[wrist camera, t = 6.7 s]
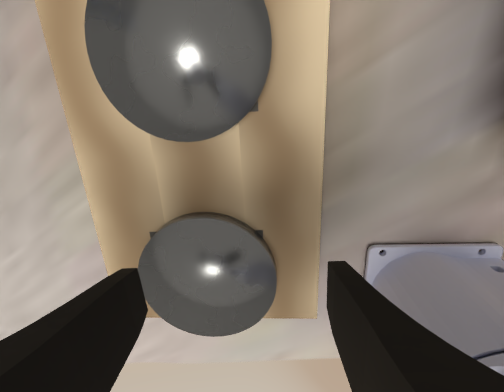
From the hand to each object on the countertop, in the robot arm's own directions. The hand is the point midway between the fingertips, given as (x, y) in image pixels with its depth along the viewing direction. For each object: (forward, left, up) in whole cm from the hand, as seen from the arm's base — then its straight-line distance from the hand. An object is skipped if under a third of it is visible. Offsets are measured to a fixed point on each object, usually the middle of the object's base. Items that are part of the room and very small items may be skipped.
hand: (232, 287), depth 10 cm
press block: (+2, -3, -10) cm, 11 cm away
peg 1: (+2, -9, -9) cm, 13 cm away
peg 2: (+2, +3, -9) cm, 10 cm away
